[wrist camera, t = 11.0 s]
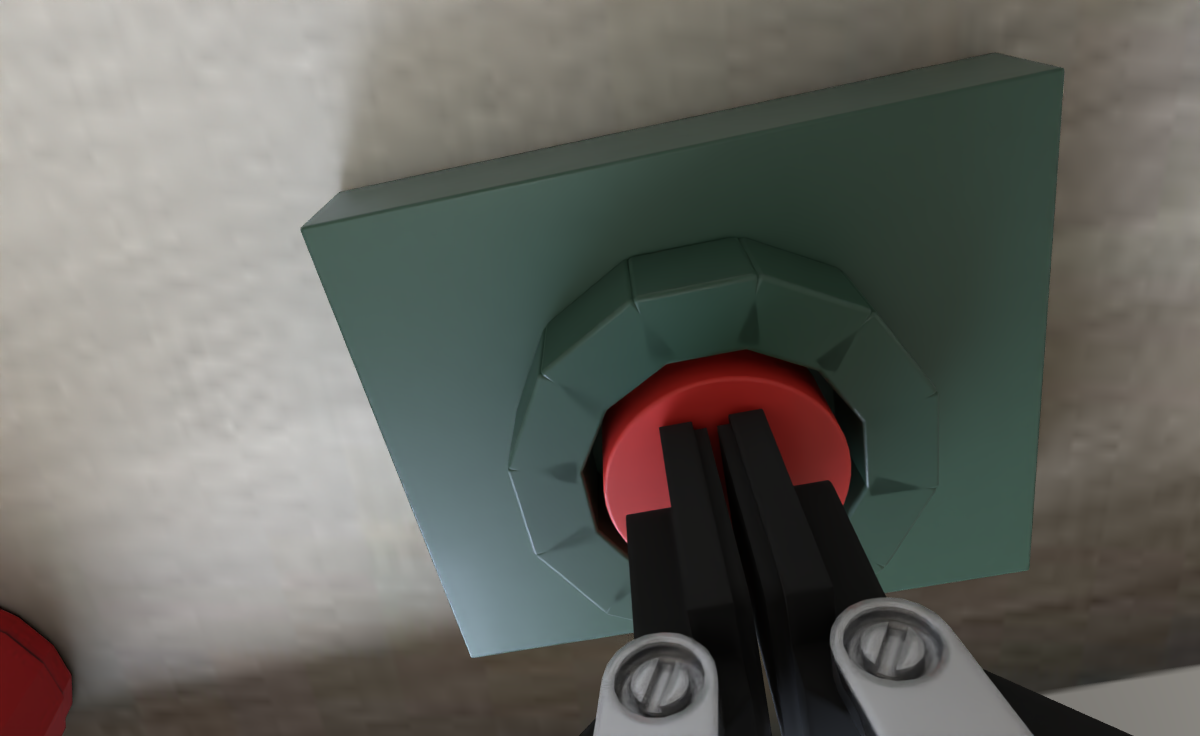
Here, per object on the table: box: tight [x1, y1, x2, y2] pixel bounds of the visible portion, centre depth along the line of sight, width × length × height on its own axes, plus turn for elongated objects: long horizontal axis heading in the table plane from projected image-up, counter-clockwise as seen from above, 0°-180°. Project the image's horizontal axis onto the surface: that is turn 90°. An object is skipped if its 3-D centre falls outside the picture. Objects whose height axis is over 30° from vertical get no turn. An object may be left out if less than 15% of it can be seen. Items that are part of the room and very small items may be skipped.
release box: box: [301, 53, 1065, 658], centre depth 14 cm, size 12×10×4 cm
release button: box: [602, 349, 851, 542], centre depth 13 cm, size 4×4×2 cm
